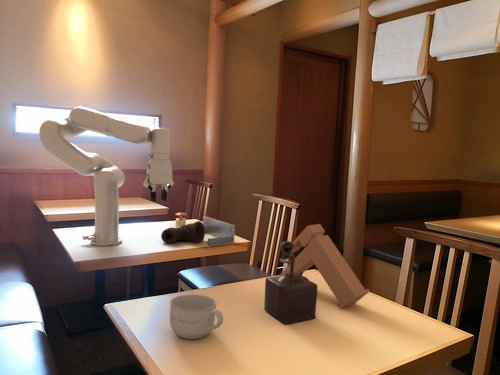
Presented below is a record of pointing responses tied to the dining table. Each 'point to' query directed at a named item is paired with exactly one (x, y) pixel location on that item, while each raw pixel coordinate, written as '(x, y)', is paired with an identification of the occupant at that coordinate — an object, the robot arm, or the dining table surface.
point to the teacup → (194, 315)
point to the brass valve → (180, 220)
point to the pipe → (185, 233)
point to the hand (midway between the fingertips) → (158, 200)
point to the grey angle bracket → (218, 231)
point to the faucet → (327, 265)
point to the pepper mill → (290, 293)
